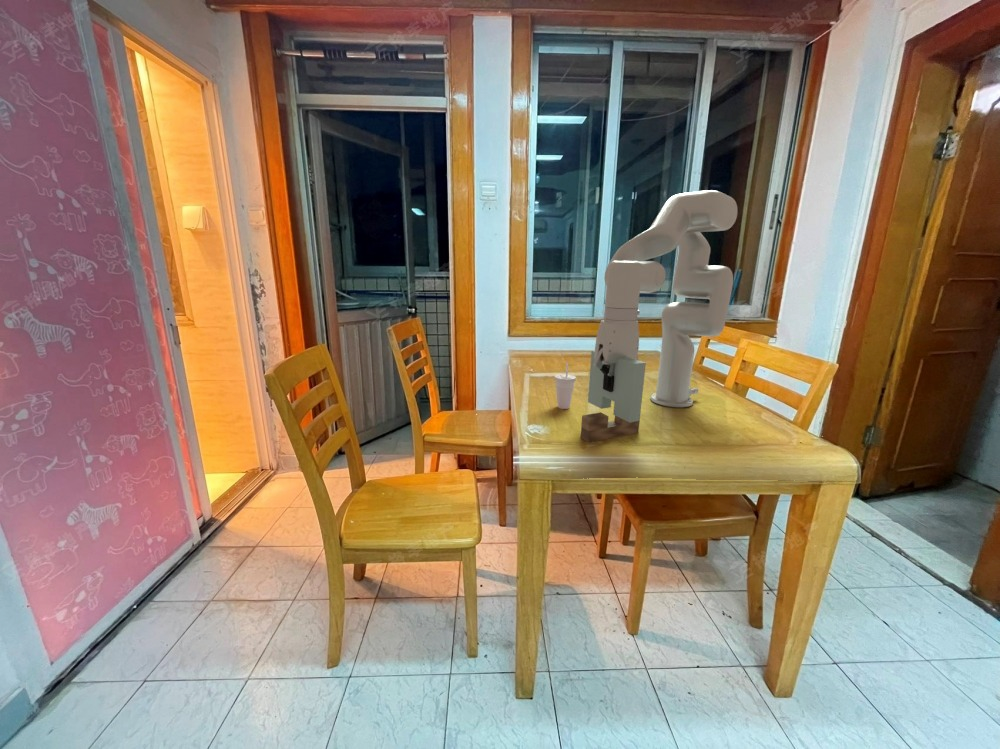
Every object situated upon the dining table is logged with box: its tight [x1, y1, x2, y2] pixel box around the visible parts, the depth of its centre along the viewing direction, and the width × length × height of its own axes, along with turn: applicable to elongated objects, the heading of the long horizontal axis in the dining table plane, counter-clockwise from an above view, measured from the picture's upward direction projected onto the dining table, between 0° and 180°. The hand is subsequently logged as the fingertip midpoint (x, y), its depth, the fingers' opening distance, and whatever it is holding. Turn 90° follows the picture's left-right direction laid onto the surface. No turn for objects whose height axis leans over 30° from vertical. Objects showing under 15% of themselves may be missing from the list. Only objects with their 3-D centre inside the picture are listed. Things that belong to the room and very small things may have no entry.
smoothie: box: [554, 362, 577, 410], centre depth 122 cm, size 6×6×14 cm
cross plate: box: [587, 349, 647, 423], centre depth 99 cm, size 16×3×14 cm, turn 24°
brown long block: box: [580, 412, 641, 443], centre depth 102 cm, size 16×3×6 cm, turn 114°
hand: (613, 389), depth 100 cm, fingers closed on cross plate, 3 cm apart
